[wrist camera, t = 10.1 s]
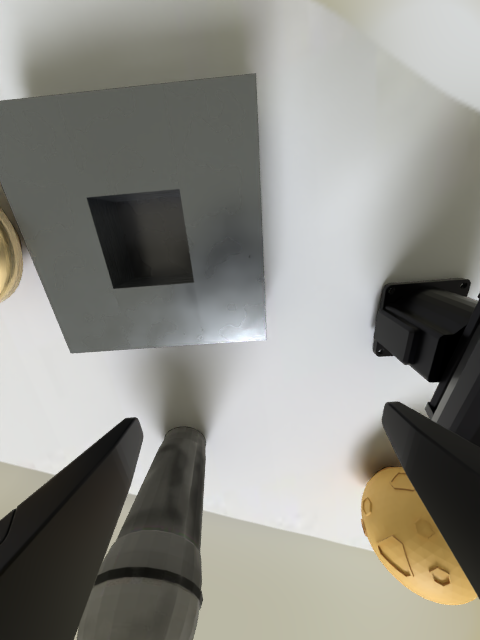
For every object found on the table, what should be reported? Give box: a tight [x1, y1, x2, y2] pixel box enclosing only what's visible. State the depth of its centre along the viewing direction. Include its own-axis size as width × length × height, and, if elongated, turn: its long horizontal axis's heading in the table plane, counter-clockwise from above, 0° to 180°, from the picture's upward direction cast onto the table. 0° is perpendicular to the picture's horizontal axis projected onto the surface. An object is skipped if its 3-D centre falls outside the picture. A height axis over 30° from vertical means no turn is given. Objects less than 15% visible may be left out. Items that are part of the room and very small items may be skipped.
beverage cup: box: [77, 427, 206, 640], centre depth 16 cm, size 7×7×20 cm
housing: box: [0, 73, 267, 353], centre depth 16 cm, size 14×14×4 cm
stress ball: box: [361, 467, 478, 605], centre depth 23 cm, size 10×10×10 cm
